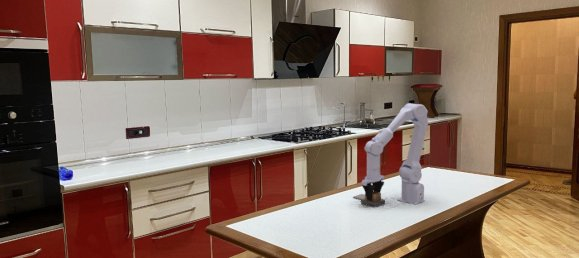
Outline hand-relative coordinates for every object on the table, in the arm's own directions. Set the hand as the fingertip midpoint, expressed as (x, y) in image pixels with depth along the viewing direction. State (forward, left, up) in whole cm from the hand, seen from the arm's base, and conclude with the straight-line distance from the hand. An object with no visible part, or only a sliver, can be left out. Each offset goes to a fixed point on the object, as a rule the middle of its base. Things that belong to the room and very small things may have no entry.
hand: (372, 198), depth 190 cm
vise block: (0, 0, -2) cm, 2 cm away
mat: (+9, -5, -2) cm, 10 cm away
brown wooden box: (0, 0, 0) cm, 0 cm away
